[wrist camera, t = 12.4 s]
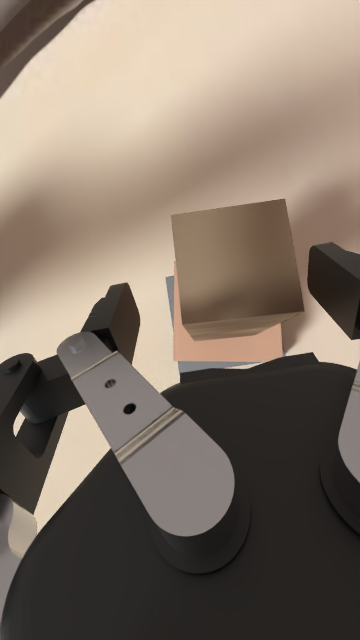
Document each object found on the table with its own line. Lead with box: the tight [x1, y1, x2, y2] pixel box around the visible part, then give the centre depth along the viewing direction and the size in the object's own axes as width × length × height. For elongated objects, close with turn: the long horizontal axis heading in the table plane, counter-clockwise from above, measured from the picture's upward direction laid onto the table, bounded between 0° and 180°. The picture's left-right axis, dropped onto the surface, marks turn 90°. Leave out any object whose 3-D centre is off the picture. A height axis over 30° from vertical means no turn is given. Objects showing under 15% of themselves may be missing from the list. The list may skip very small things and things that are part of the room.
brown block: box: [171, 199, 304, 341], centre depth 15 cm, size 4×4×10 cm
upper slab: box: [173, 261, 283, 362], centre depth 21 cm, size 8×8×3 cm
